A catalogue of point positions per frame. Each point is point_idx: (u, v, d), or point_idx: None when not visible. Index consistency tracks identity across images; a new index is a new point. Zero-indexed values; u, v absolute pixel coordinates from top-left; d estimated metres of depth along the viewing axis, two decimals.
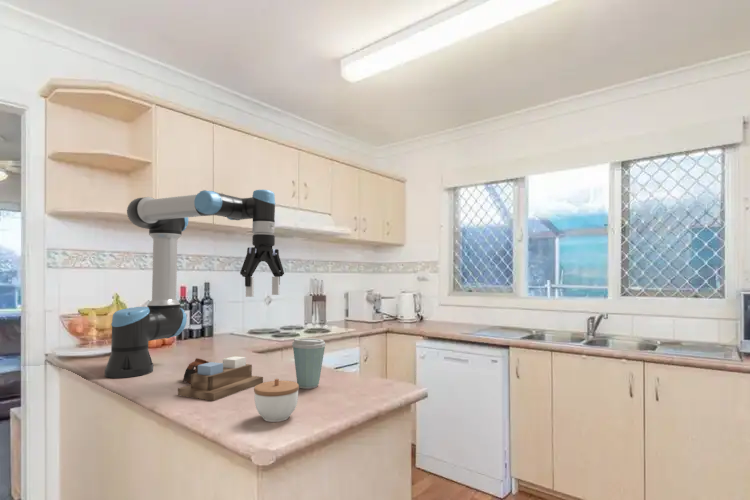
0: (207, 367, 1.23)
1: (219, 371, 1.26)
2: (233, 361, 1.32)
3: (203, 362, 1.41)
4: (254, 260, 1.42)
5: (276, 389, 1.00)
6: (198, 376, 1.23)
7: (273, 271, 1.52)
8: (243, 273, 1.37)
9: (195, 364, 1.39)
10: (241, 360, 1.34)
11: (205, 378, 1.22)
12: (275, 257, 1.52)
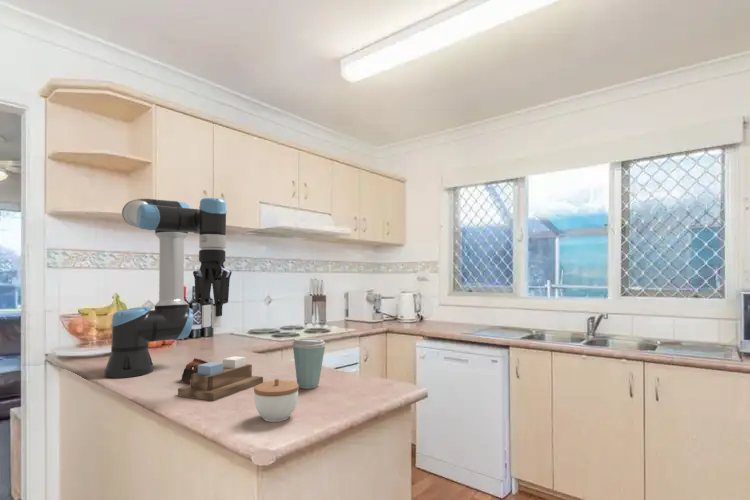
0: (207, 367, 1.23)
1: (219, 371, 1.26)
2: (233, 361, 1.32)
3: (201, 362, 1.41)
4: None
5: (276, 389, 1.00)
6: (198, 376, 1.23)
7: None
8: None
9: (193, 364, 1.39)
10: (241, 360, 1.34)
11: (205, 378, 1.22)
12: None
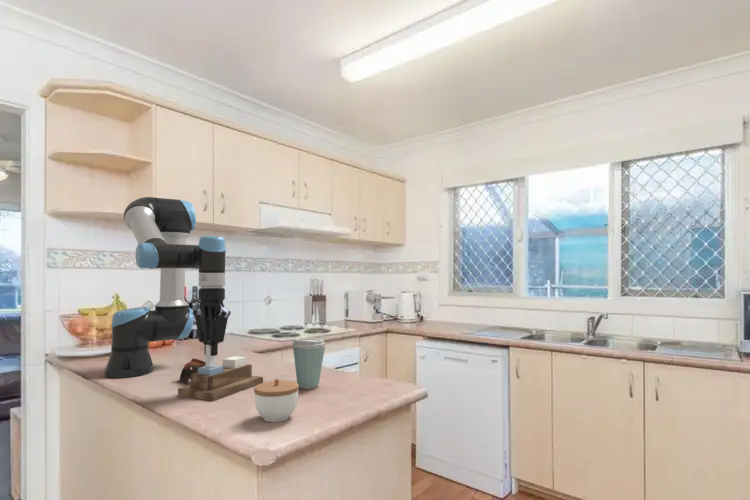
0: (207, 370, 1.23)
1: None
2: (233, 361, 1.32)
3: (199, 362, 1.40)
4: None
5: (276, 389, 1.00)
6: (198, 376, 1.23)
7: None
8: None
9: (191, 364, 1.39)
10: (241, 360, 1.34)
11: (205, 378, 1.22)
12: None
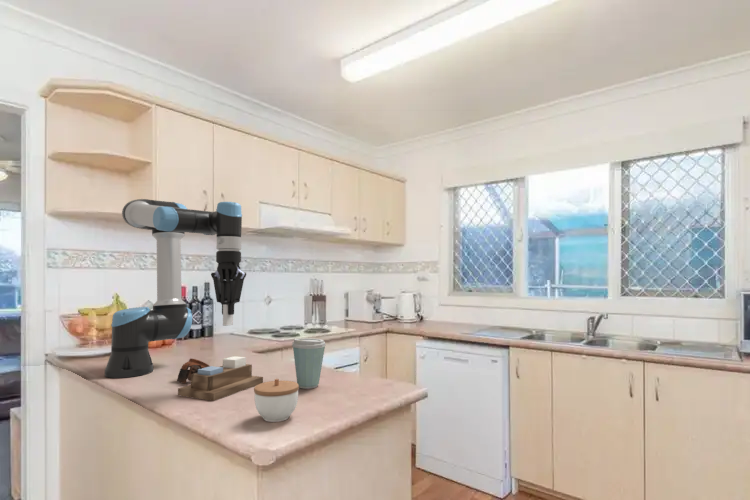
0: (207, 371, 1.23)
1: None
2: (233, 361, 1.32)
3: (197, 362, 1.40)
4: None
5: (276, 389, 1.00)
6: (198, 376, 1.23)
7: None
8: None
9: (189, 364, 1.39)
10: (241, 360, 1.34)
11: (205, 378, 1.22)
12: None
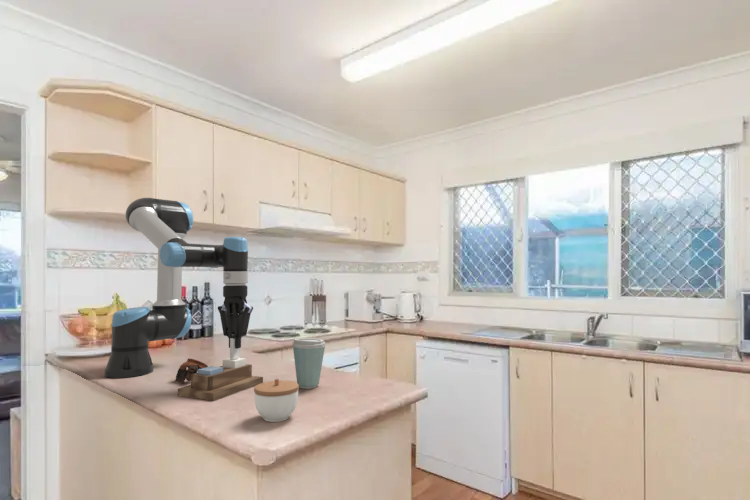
0: (207, 371, 1.23)
1: None
2: (233, 362, 1.32)
3: (196, 362, 1.40)
4: None
5: (276, 389, 1.00)
6: (198, 376, 1.23)
7: None
8: None
9: (187, 364, 1.39)
10: (241, 361, 1.34)
11: (205, 378, 1.22)
12: None
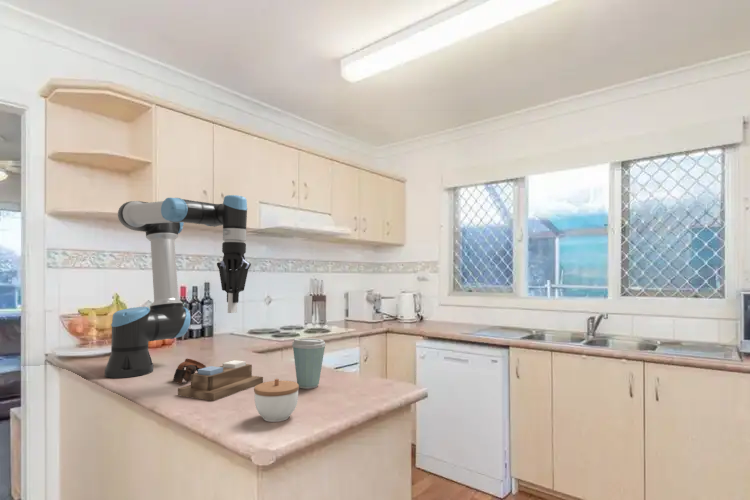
0: (207, 371, 1.23)
1: None
2: (233, 365, 1.32)
3: (193, 362, 1.40)
4: None
5: (276, 389, 1.00)
6: (198, 376, 1.23)
7: None
8: None
9: (185, 364, 1.39)
10: (241, 364, 1.34)
11: (205, 378, 1.22)
12: None
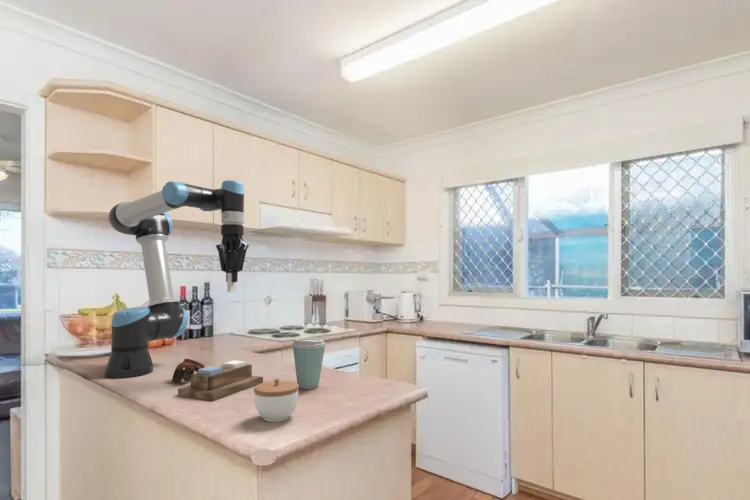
0: (207, 371, 1.23)
1: None
2: (233, 365, 1.32)
3: (192, 362, 1.40)
4: None
5: (276, 389, 1.00)
6: (198, 376, 1.23)
7: None
8: None
9: (184, 364, 1.39)
10: (241, 364, 1.34)
11: (205, 378, 1.22)
12: None
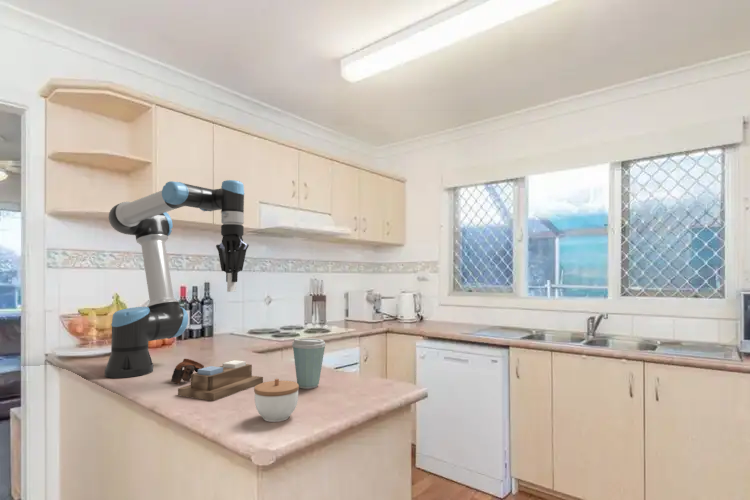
0: (207, 371, 1.23)
1: None
2: (233, 365, 1.32)
3: (192, 362, 1.40)
4: None
5: (276, 389, 1.00)
6: (198, 376, 1.23)
7: None
8: None
9: (184, 364, 1.39)
10: (241, 364, 1.34)
11: (205, 378, 1.22)
12: None
